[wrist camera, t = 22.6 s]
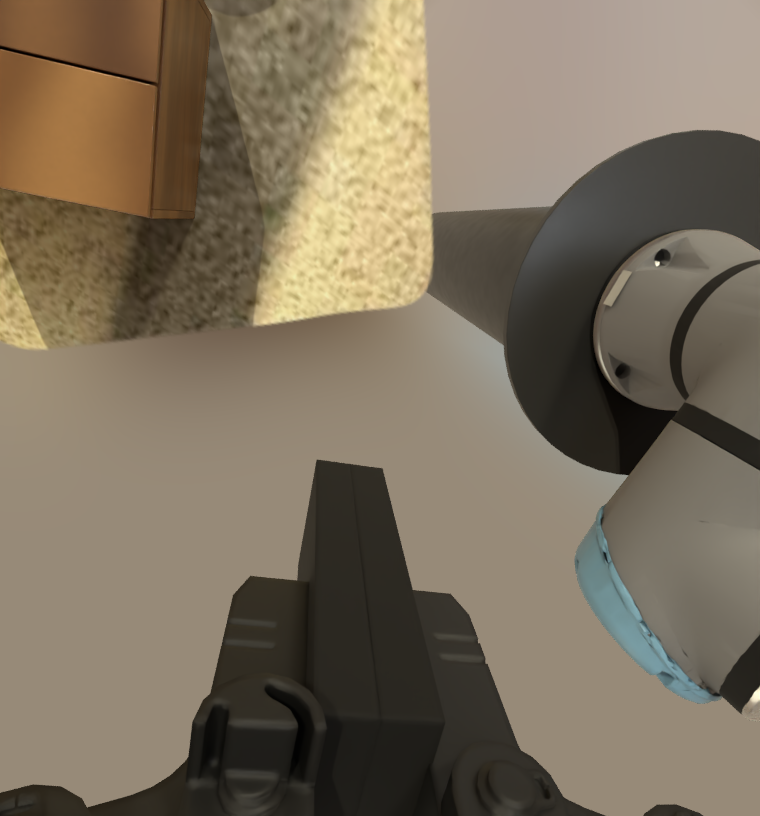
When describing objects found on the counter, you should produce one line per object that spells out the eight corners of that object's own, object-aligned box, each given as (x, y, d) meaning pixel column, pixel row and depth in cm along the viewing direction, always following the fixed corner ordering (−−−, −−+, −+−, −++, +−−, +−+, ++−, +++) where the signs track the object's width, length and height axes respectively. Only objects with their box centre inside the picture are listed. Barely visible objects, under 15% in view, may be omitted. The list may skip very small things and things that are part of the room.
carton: (212, 15, 36) (166, -71, 25) (194, 218, 40) (148, 218, 29) (-37, -51, 33) (-204, -176, 23) (-29, 173, 37) (-168, 156, 27)
